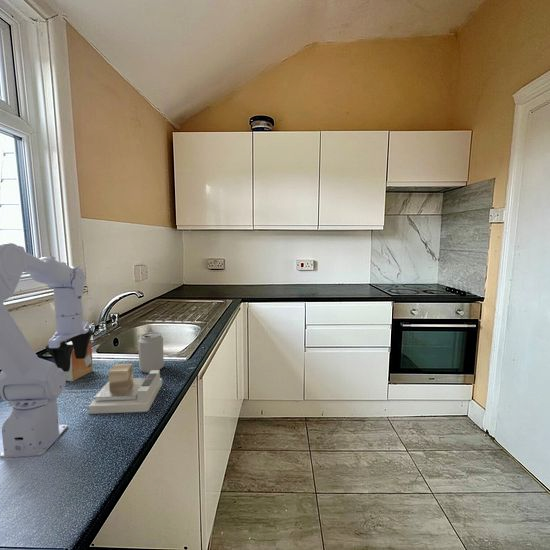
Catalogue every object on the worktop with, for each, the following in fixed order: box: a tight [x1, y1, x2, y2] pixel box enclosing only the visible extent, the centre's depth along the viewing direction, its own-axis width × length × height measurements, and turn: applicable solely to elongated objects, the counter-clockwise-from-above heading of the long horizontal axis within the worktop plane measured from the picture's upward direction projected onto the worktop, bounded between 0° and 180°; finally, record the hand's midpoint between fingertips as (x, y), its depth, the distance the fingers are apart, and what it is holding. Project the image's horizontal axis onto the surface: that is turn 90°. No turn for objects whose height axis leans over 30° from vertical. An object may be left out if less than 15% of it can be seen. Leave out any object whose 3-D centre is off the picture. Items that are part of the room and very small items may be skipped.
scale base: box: [88, 370, 163, 415], centre depth 82 cm, size 14×14×5 cm
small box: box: [64, 339, 94, 382], centre depth 94 cm, size 8×6×10 cm
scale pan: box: [93, 377, 146, 401], centre depth 82 cm, size 10×10×1 cm
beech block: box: [108, 363, 134, 391], centre depth 82 cm, size 4×4×6 cm
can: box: [137, 331, 165, 374], centre depth 100 cm, size 8×8×12 cm
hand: (72, 364), depth 79 cm, fingers open, 7 cm apart
